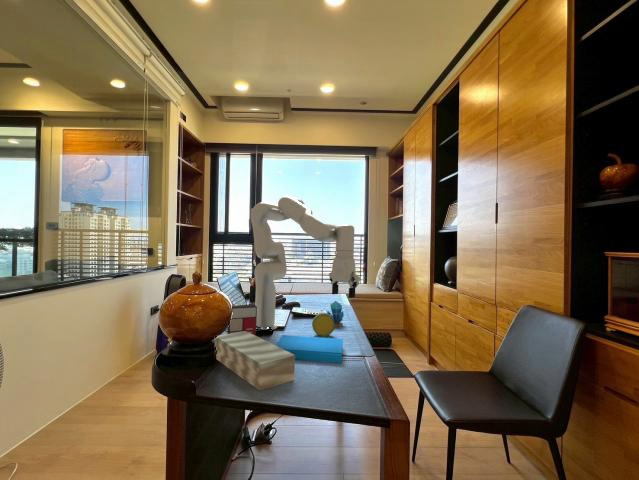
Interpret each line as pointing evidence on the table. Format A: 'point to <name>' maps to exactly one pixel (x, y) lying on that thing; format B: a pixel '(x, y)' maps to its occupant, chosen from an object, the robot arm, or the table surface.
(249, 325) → the gray red box
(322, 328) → the decorative artifact
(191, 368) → the table surface
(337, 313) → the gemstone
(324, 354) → the book
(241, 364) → the striped cream block
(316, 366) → the table surface
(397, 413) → the table surface
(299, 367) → the table surface
